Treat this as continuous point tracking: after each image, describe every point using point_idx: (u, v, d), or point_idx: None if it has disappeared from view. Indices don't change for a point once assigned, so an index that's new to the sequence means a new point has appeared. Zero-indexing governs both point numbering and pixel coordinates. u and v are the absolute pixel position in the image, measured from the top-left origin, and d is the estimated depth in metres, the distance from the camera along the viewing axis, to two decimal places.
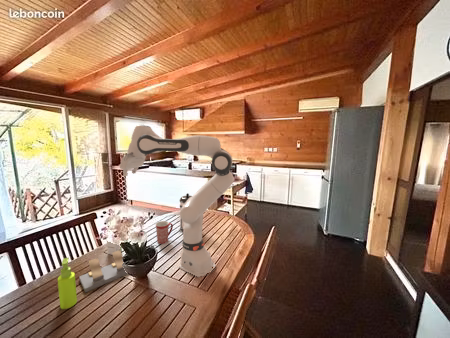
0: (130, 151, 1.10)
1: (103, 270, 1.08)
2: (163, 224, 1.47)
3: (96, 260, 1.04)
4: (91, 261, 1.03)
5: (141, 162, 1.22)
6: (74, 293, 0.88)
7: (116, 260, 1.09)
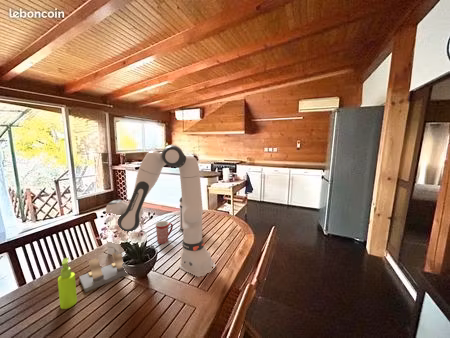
0: None
1: (103, 270, 1.08)
2: (163, 224, 1.47)
3: (96, 260, 1.04)
4: (91, 261, 1.03)
5: None
6: (74, 293, 0.88)
7: (116, 260, 1.09)
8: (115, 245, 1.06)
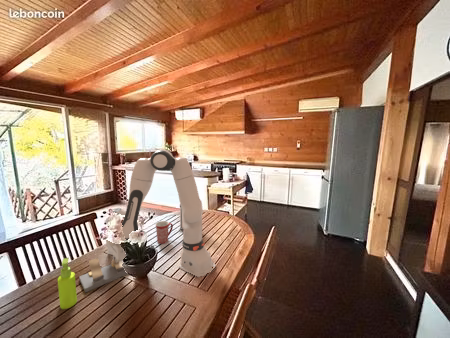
0: None
1: (103, 270, 1.08)
2: (163, 224, 1.47)
3: (96, 260, 1.04)
4: (91, 261, 1.03)
5: None
6: (74, 293, 0.88)
7: (115, 264, 1.10)
8: (115, 253, 1.07)
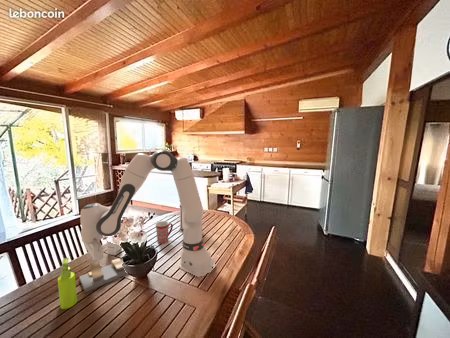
0: (91, 238, 0.97)
1: (103, 270, 1.08)
2: (163, 224, 1.47)
3: None
4: (91, 261, 1.03)
5: None
6: (74, 293, 0.88)
7: (115, 264, 1.10)
8: (91, 252, 0.98)
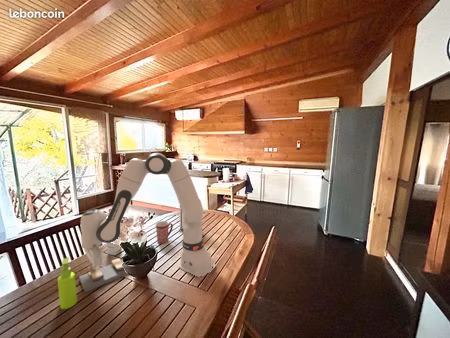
0: (91, 244, 0.99)
1: (103, 270, 1.08)
2: (163, 224, 1.47)
3: None
4: (90, 266, 1.05)
5: None
6: (74, 293, 0.88)
7: (115, 264, 1.10)
8: (91, 258, 0.99)
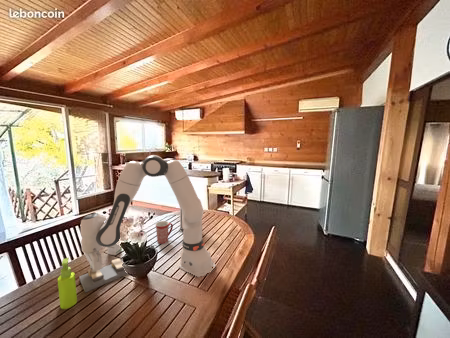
0: (91, 248, 0.99)
1: (103, 270, 1.08)
2: (163, 224, 1.47)
3: None
4: (90, 269, 1.05)
5: None
6: (74, 293, 0.88)
7: (115, 264, 1.10)
8: (91, 262, 0.99)
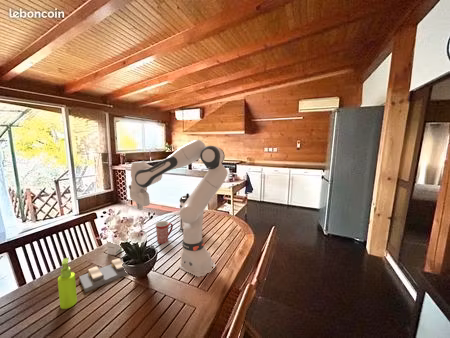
0: (140, 188, 1.20)
1: (103, 270, 1.08)
2: (163, 224, 1.47)
3: (95, 267, 1.07)
4: (90, 269, 1.05)
5: None
6: (74, 293, 0.88)
7: (115, 264, 1.10)
8: (140, 200, 1.20)
